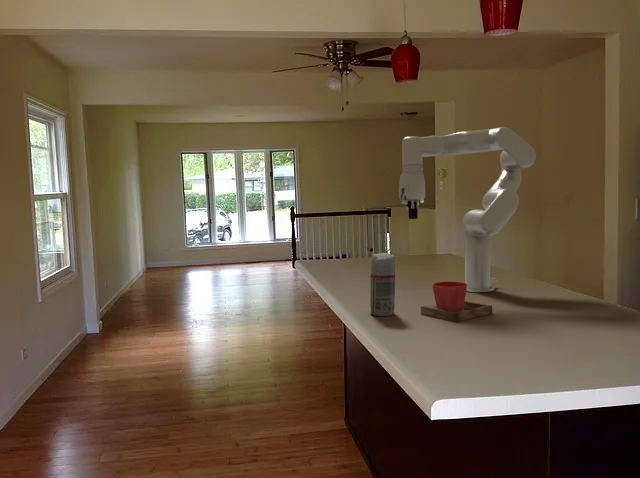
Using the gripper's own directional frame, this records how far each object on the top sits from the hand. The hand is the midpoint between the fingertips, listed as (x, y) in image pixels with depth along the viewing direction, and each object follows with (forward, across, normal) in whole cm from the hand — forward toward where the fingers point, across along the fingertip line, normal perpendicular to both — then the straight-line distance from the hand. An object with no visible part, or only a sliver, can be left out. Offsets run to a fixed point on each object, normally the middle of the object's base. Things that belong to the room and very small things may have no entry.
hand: (413, 218), depth 218 cm
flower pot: (+29, +14, +30) cm, 45 cm away
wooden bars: (+29, +13, +32) cm, 45 cm away
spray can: (+29, +31, +17) cm, 46 cm away
